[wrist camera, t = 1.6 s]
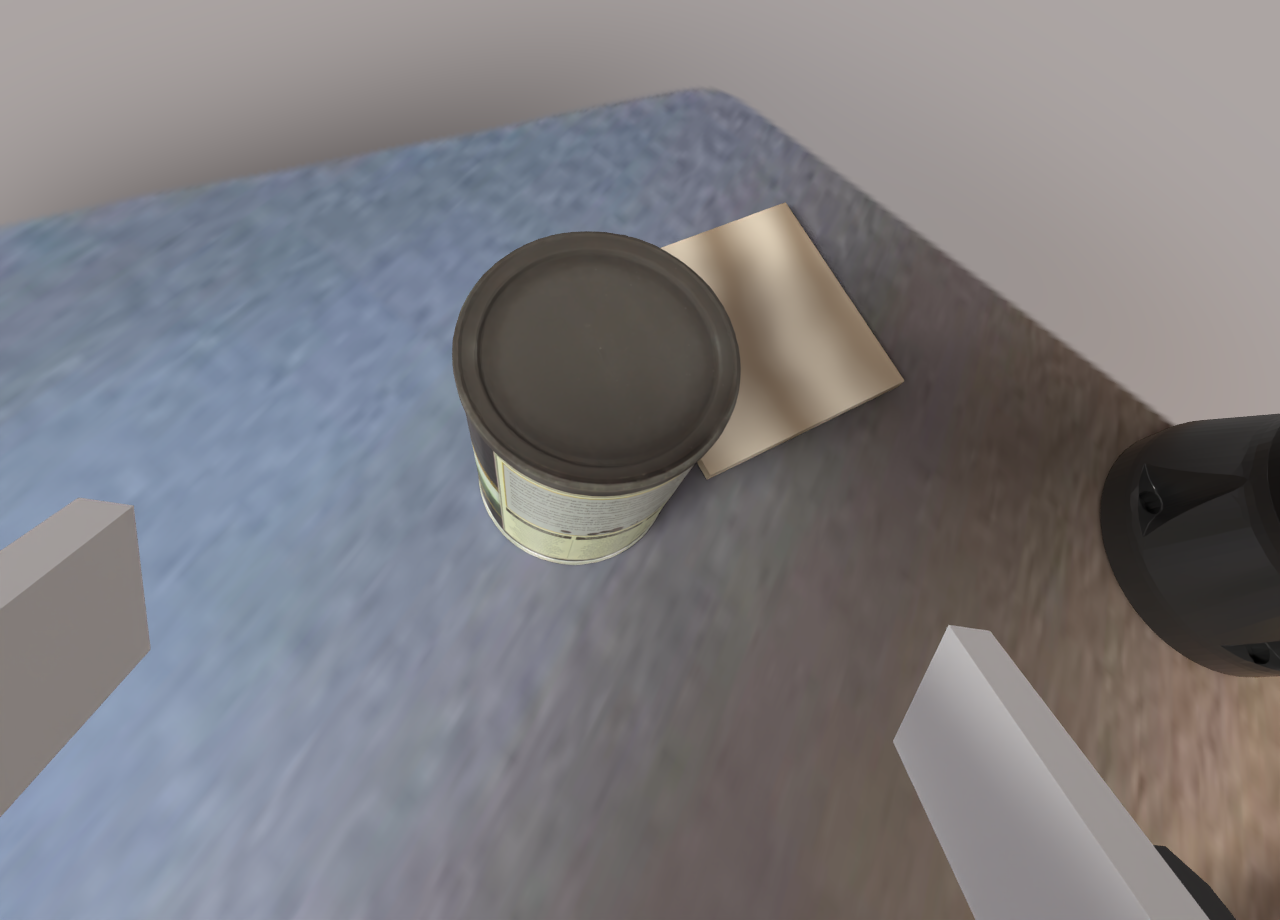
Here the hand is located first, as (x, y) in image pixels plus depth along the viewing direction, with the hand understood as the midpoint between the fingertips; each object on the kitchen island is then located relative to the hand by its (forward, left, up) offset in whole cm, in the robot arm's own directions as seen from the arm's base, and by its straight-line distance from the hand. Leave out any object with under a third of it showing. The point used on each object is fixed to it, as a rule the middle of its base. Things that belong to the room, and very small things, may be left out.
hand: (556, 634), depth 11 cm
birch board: (-20, -12, -24) cm, 34 cm away
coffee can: (-6, -9, -24) cm, 27 cm away
